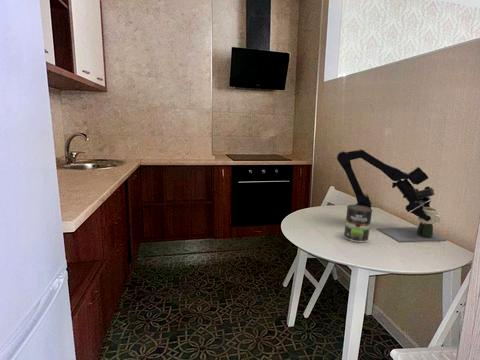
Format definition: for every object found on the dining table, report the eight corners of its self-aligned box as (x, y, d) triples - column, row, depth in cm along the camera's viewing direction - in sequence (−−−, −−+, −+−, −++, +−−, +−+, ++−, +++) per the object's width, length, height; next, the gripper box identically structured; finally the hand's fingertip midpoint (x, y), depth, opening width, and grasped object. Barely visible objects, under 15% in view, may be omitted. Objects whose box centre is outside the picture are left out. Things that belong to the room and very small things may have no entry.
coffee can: (368, 244, 124) (373, 212, 121) (343, 240, 128) (346, 209, 125) (367, 236, 133) (371, 206, 131) (344, 232, 137) (347, 203, 134)
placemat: (399, 242, 127) (399, 241, 127) (376, 229, 143) (376, 228, 143) (446, 240, 131) (446, 239, 131) (419, 228, 147) (419, 227, 147)
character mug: (408, 232, 138) (412, 206, 136) (417, 230, 142) (421, 204, 139) (431, 241, 129) (436, 213, 126) (440, 238, 132) (446, 211, 129)
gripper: (417, 183, 126) (443, 213, 121) (429, 179, 139) (452, 206, 134) (395, 197, 133) (418, 226, 128) (408, 191, 146) (430, 218, 141)
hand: (431, 219), depth 132 cm, fingers open, 8 cm apart
